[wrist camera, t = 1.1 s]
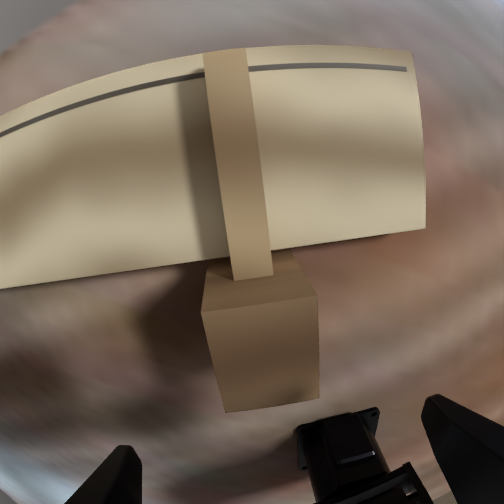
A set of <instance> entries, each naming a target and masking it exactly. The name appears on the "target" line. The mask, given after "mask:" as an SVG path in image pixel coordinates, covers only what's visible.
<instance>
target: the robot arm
mask: <svg viewBox="0 0 504 504" xmlns="http://www.w3.org/2000/svg"><path fill="white" fill-rule="evenodd" d="M372 413H373V414H372ZM379 414H380V411H379V409H378V408H377V407H373V408H369V409H366V410H362V411H358V412H354V413H351V414H347V415H342V416H338V417H334V418H330V419H325V420H321V421H316V422H311V423H306V424H302V425H299V426H298V427H297V447H298V466H299V470H301V471H305V470H308V473H309V477H310V481H311V484H312V488H313V492H314V496H315V500H316V503H314V504H434V503H433V501H432V499H431V498H430V496H429V494H428V492H427V491H426V489H425V487H424V485H423V484H422V482H421V480H420V479H419V477H418V475H417V474H416V472H415V470H414V468H413V467H412V465H411V463H410V462H407V463H405V464H403V465H402V467H400V468H398V469H396V470H394V471H392V472H391V471H390V469H389V467H388V465H387V463H386V461H385V458H384V456H383V454H382V452H381V450H380V448H379V446H378V443H377V441H376V439H375V433H376V429H377V424H378V419H379ZM421 420H422V423H423V426H424V428H425V431H426V434H427V436H428V439H429V442H430V444H431V447H432V450H433V453H434V455H435V458H436V460H437V462H438V464H439V466H440V468H441V470H442V472H443V474H444V476H445V478H446V480H447V482H448V484H449V486H450V488H451V491H452V492H453V495H454V497H455V499H456V501H457V503H458V504H504V426H502V425H500V424H498V423H496V422H494V421H492V420H490V419H488V418H486V417H484V416H482V415H480V414H478V413H476V412H474V411H472V410H470V409H468V408H466V407H464V406H462V405H460V404H458V403H456V402H454V401H452V400H450V399H448V398H446V397H444V396H442V395H440V394H435V395H432V396H429V397H427V398H426V400H425V403H424V407H423V410H422V413H421ZM303 429H305V430H303ZM409 492H410V493H411V494H410V495H408V496H406V494H407V493H409ZM64 504H142V463H141V460H140V458H139V457H138V455H137V454H136V452H135V450H134V449H133V447H132V446H130V445H119V446H117V447H116V448H115V449H114V450H113V452H112V453H111V454H110V455H109V456H108V457H107V458H106V459H105V460H104V461H103V463H102V464H101V465H100V466H99V467H98V468H97V469H96V470H95V471H94V472H93V473H92V474H91V476H90V477H89V478H88V479H87V480H86V481H85V482H84V483H83V484H82V485H81V486H80V487H79V488H78V490H77V491H76V492H75V493H74V494H73V495H72V496H71V497H70V498H69V499H68V500H67V501H66V502H65V503H64Z"/></svg>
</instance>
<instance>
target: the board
mask: <svg viewBox="0 0 504 504" xmlns="http://www.w3.org/2000/svg"><path fill="white" fill-rule="evenodd" d="M246 55H247V63H248V70H249V77H250V85H251V92H252V99H253V107H254V115H255V122H256V130H257V138H258V146H259V154H260V162H261V170H262V178H263V187H264V195H265V203H266V212H267V221H268V229H269V238H270V247H271V250H277V249H284V248H291V247H298V246H305V245H312V244H319V243H326V242H333V241H340V240H347V239H354V238H361V237H368V236H375V235H382V234H389V233H396V232H403V231H410V230H417V229H424V228H425V221H426V188H425V160H424V144H423V132H422V121H421V112H420V103H419V96H418V88H417V82H416V75H415V69H414V64H413V58H412V53H411V52H410V51H402V50H394V49H385V48H374V47H360V46H340V45H289V46H268V47H254V48H246ZM228 256H230V252H229V245H228V239H227V232H226V225H225V219H224V212H223V205H222V198H221V191H220V184H219V177H218V170H217V163H216V156H215V149H214V141H213V134H212V126H211V119H210V111H209V103H208V96H207V88H206V80H205V72H204V63H203V55H202V54H197V55H191V56H185V57H179V58H174V59H169V60H164V61H159V62H155V63H150V64H146V65H142V66H138V67H133V68H130V69H126V70H122V71H118V72H115V73H111V74H108V75H104V76H101V77H98V78H95V79H91V80H88V81H85V82H82V83H79V84H76V85H73V86H71V87H68V88H65V89H62V90H60V91H57V92H54V93H52V94H49V95H47V96H44V97H42V98H39V99H37V100H34V101H32V102H30V103H27V104H25V105H23V106H21V107H18V108H16V109H14V110H12V111H10V112H8V113H6V114H4V115H2V116H0V289H2V288H9V287H16V286H23V285H30V284H38V283H45V282H52V281H59V280H66V279H73V278H80V277H87V276H94V275H101V274H108V273H116V272H123V271H130V270H137V269H144V268H151V267H158V266H165V265H172V264H179V263H186V262H193V261H200V260H207V259H214V258H221V257H228Z"/></svg>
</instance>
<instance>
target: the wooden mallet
mask: <svg viewBox="0 0 504 504" xmlns="http://www.w3.org/2000/svg"><path fill="white" fill-rule="evenodd" d="M202 55H203V63H204V72H205V80H206V88H207V96H208V103H209V111H210V119H211V126H212V134H213V141H214V149H215V156H216V163H217V170H218V177H219V184H220V191H221V198H222V205H223V212H224V219H225V225H226V232H227V239H228V245H229V252H230V256H228V257H221V258H214V259H208V265H207V272H206V278H205V285H204V293H203V300H202V307H201V316H202V320H203V325H204V329H205V333H206V338H207V342H208V346H209V350H210V354H211V359H212V363H213V367H214V371H215V375H216V379H217V383H218V387H219V390H220V394H221V398H222V402H223V406H224V409H225V413H229V412H238V411H246V410H254V409H261V408H268V407H274V406H280V405H286V404H292V403H298V402H303V401H308V400H313V399H318V398H319V329H318V300H317V294H316V292H315V291H314V289H313V287H312V285H311V284H310V282H309V280H308V279H307V277H306V275H305V274H304V272H303V271H302V269H301V267H300V266H299V264H298V262H297V261H296V259H295V257H294V256H293V254H292V252H291V251H290V249H289V248H284V249H277V250H271V247H270V238H269V229H268V221H267V212H266V203H265V195H264V187H263V178H262V170H261V162H260V154H259V146H258V138H257V130H256V122H255V115H254V107H253V99H252V92H251V85H250V77H249V70H248V63H247V55H246V48H238V49H228V50H220V51H213V52H206V53H202Z"/></svg>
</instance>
